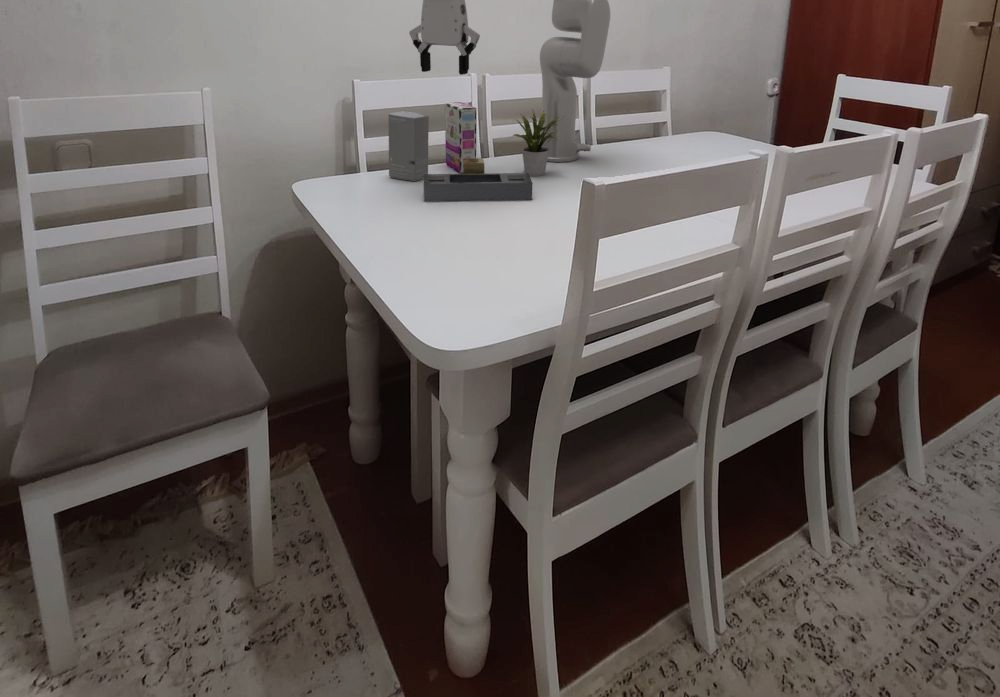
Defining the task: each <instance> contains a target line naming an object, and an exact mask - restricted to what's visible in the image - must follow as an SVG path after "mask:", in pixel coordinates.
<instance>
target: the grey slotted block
mask: <svg viewBox="0 0 1000 697" xmlns="http://www.w3.org/2000/svg"><path fill="white" fill-rule="evenodd" d="M532 200H533V180H532V178H531V176H530V175H529V174H528V173H525V172H502V173H499V172H498V173H495V172H493V173H492V172H489V173H488V172H487V173H485V172H484V173H483V174H463V173H428V174H424V178H423V201H424V202H466V201H467V202H470V201H471V202H473V201H477V202H479V201H480V202H481V201H532Z"/></svg>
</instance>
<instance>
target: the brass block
mask: <svg viewBox="0 0 1000 697" xmlns="http://www.w3.org/2000/svg"><path fill="white" fill-rule="evenodd" d="M483 173H485V161H484V158H483V157H481V158H479V157H478V158H477V157H476V158H463V173H462V174H483Z"/></svg>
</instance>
